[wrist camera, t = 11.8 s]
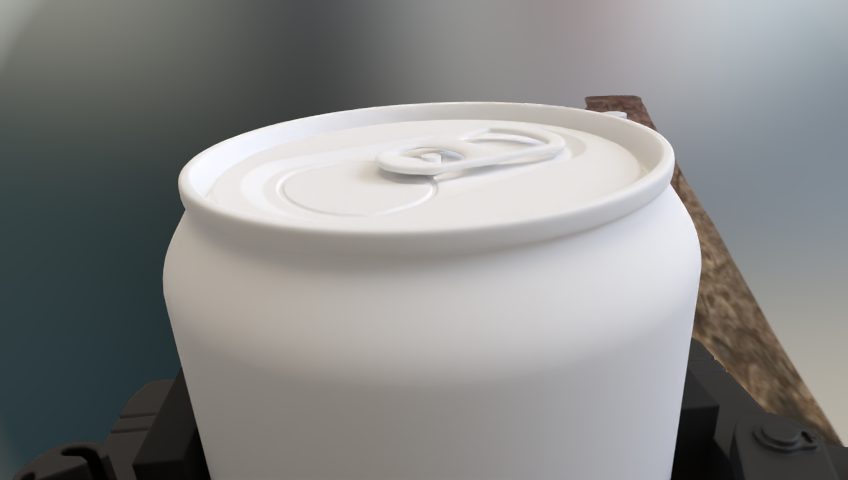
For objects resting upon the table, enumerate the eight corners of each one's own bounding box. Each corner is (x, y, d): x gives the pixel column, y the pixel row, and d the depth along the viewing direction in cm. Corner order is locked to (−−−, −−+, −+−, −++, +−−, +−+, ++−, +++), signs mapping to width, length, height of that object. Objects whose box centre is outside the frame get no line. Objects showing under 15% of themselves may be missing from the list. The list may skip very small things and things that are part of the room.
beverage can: (233, 601, 15) (110, 141, 10) (487, 468, 19) (481, 85, 14) (373, 1044, 9) (215, 353, 4) (719, 707, 12) (852, 145, 8)
